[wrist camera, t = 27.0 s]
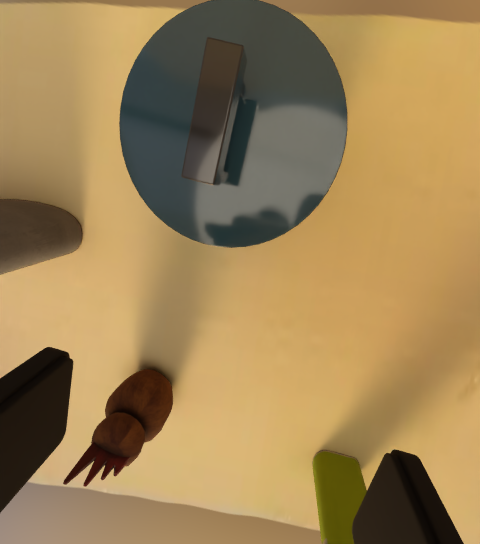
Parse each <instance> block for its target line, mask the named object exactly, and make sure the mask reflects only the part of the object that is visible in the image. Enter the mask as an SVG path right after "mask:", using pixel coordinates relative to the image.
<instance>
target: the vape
mask: <svg viewBox="0 0 480 544" xmlns="http://www.w3.org/2000/svg"><path fill="white" fill-rule="evenodd" d="M312 464H313V473H314V482H315V490H316V499H317V507H318V516H319V524H320V533H321V541H322V544H354V541H353V535H352V524H353V520H354V518H355V516H356V513H357V511H358V509H359V507H360V505H361V503H362V501H363V499H364V497H365V495H366V493H367V490H366V487H365V483H364V480H363V476H362V473H361V469H360V466H359V462H358V461H357V459H355V458H354V457H350V456H346V455H342V454H339V453H335V452H331V451H327V450H322V451H320V452H318V453H317V454H316V455H315V456H314V458H313V462H312Z"/></svg>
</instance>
